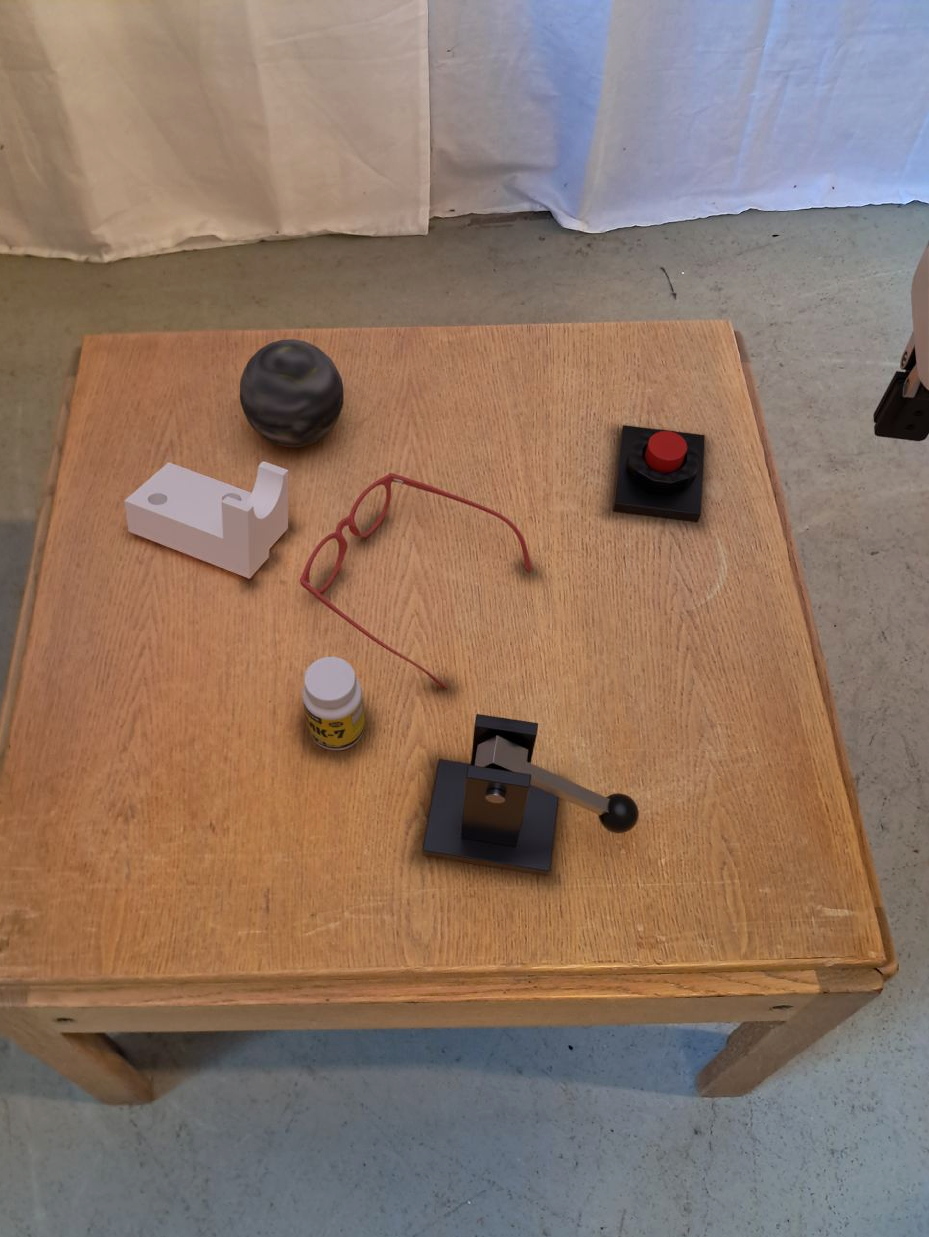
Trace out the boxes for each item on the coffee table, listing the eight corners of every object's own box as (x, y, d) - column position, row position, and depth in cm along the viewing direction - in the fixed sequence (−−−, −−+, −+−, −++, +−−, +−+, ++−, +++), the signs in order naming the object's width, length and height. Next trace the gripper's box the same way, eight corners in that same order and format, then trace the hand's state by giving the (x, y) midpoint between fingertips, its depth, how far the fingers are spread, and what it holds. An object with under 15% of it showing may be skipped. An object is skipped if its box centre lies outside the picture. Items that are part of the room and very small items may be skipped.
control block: (620, 433, 101) (626, 411, 99) (702, 443, 101) (709, 421, 98) (612, 511, 97) (618, 490, 94) (697, 522, 96) (705, 501, 93)
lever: (621, 806, 79) (648, 797, 76) (618, 842, 77) (646, 834, 75) (475, 740, 73) (500, 728, 71) (469, 778, 72) (494, 766, 69)
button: (646, 441, 97) (649, 428, 96) (683, 446, 97) (688, 433, 95) (643, 470, 96) (647, 457, 94) (682, 474, 95) (686, 462, 94)
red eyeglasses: (393, 490, 98) (392, 454, 94) (538, 561, 94) (544, 528, 89) (287, 616, 91) (280, 584, 87) (438, 701, 87) (439, 671, 82)
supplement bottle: (299, 740, 85) (287, 692, 78) (323, 695, 87) (313, 643, 80) (352, 760, 84) (345, 712, 77) (374, 713, 86) (369, 662, 79)
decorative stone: (356, 458, 100) (349, 382, 91) (256, 477, 99) (239, 402, 90) (336, 387, 105) (328, 308, 96) (240, 404, 104) (224, 325, 95)
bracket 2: (559, 783, 83) (580, 710, 72) (548, 876, 79) (568, 814, 68) (438, 764, 84) (440, 689, 73) (422, 855, 80) (421, 790, 69)
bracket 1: (287, 536, 97) (288, 470, 91) (249, 578, 92) (247, 511, 87) (171, 492, 100) (165, 425, 94) (128, 531, 95) (119, 463, 89)
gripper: (1158, 271, 45) (967, 528, 61) (1107, 80, 53) (948, 355, 69) (984, 253, 46) (840, 512, 62) (957, 67, 53) (835, 342, 69)
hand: (897, 429), depth 65 cm, fingers closed
